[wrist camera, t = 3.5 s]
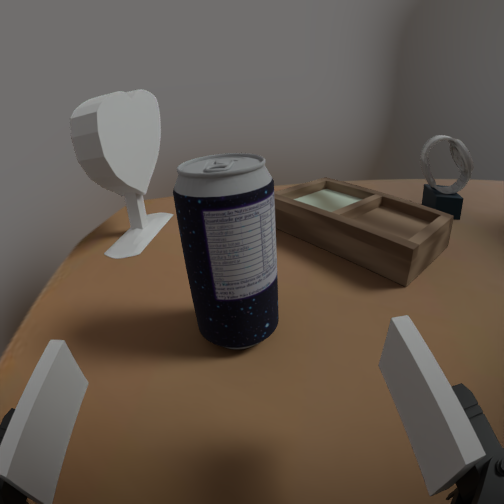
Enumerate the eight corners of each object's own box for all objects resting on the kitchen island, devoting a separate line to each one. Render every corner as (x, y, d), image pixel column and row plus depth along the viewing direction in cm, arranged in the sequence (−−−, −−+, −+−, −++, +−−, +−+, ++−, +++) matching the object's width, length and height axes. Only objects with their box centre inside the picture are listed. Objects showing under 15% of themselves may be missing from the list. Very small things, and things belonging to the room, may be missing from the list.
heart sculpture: (148, 210, 47) (130, 93, 38) (178, 209, 46) (162, 87, 38) (95, 262, 33) (60, 104, 25) (132, 263, 33) (99, 92, 24)
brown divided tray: (325, 202, 45) (325, 177, 43) (447, 246, 31) (453, 215, 29) (266, 223, 39) (264, 195, 37) (405, 287, 26) (413, 249, 24)
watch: (470, 220, 37) (481, 144, 32) (422, 217, 38) (430, 136, 33) (456, 206, 42) (464, 136, 37) (411, 203, 43) (416, 130, 38)
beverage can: (280, 305, 25) (275, 150, 19) (275, 359, 20) (268, 172, 14) (210, 304, 26) (187, 155, 20) (191, 354, 21) (153, 179, 15)
